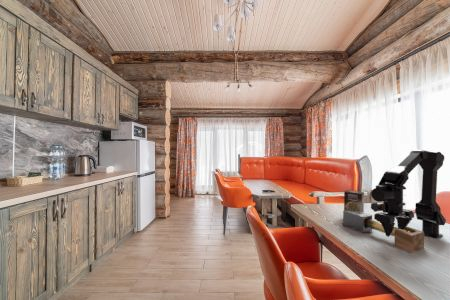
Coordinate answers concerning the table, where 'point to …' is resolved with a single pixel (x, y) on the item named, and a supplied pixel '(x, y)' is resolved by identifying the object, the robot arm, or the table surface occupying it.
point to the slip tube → (380, 226)
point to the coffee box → (354, 200)
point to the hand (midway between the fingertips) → (394, 234)
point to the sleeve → (356, 220)
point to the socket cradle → (409, 239)
